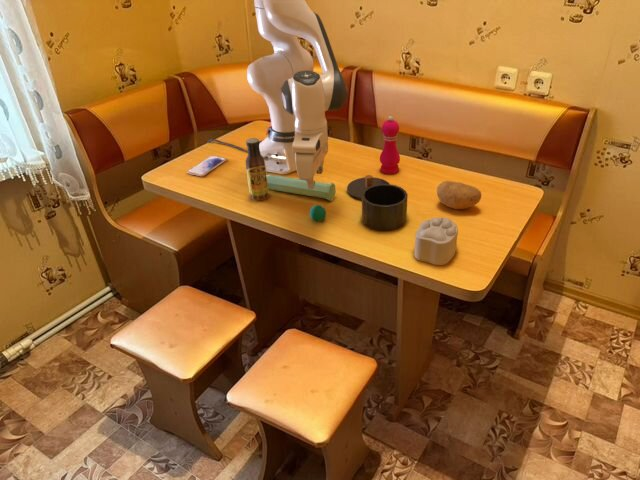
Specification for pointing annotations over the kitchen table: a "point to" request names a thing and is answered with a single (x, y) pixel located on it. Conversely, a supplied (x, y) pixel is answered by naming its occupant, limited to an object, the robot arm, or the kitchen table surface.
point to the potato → (458, 195)
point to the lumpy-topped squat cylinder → (436, 241)
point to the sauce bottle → (256, 171)
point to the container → (301, 187)
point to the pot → (384, 207)
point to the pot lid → (363, 185)
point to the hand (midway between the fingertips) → (315, 180)
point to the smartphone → (206, 166)
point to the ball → (317, 213)
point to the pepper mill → (390, 147)
